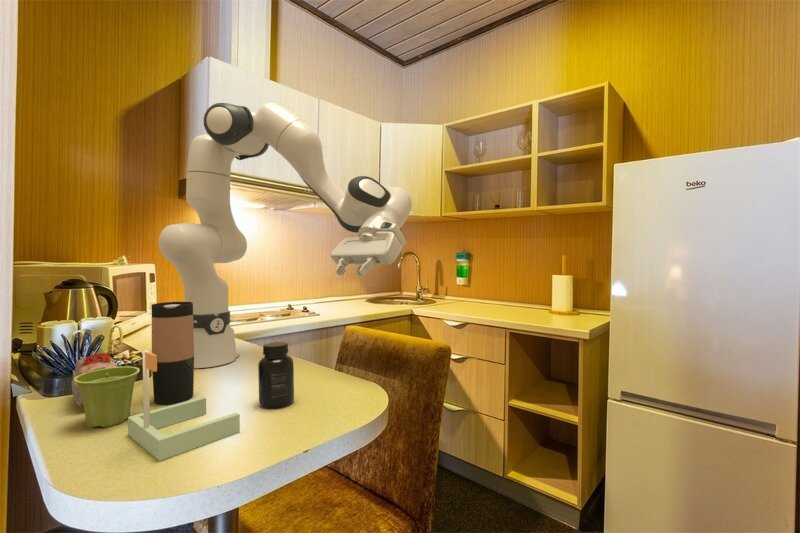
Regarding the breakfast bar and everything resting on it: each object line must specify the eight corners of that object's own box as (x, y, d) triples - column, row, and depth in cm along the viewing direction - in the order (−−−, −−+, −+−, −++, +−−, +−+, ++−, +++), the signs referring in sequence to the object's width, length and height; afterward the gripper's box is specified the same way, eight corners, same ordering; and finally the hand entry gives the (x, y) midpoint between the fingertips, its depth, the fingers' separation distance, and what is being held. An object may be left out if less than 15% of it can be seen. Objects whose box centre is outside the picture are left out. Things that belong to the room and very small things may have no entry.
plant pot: (149, 418, 71) (148, 371, 71) (86, 438, 63) (85, 385, 63) (127, 407, 76) (126, 363, 76) (66, 424, 69) (65, 375, 68)
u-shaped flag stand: (128, 435, 64) (126, 345, 64) (203, 412, 74) (202, 333, 74) (159, 461, 56) (157, 357, 56) (239, 431, 65) (238, 343, 65)
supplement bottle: (299, 397, 82) (298, 340, 81) (286, 410, 75) (285, 348, 75) (267, 396, 82) (267, 340, 82) (252, 408, 75) (251, 347, 75)
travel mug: (177, 390, 86) (176, 301, 86) (202, 395, 83) (201, 302, 83) (143, 402, 79) (142, 304, 79) (170, 407, 76) (168, 306, 76)
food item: (126, 405, 78) (125, 356, 78) (74, 416, 72) (73, 364, 72) (114, 389, 88) (113, 345, 88) (67, 398, 82) (66, 351, 82)
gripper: (342, 228, 106) (314, 264, 99) (400, 223, 93) (372, 264, 86) (354, 245, 110) (328, 281, 102) (411, 242, 97) (386, 283, 89)
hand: (349, 273), depth 94 cm, fingers open, 6 cm apart
